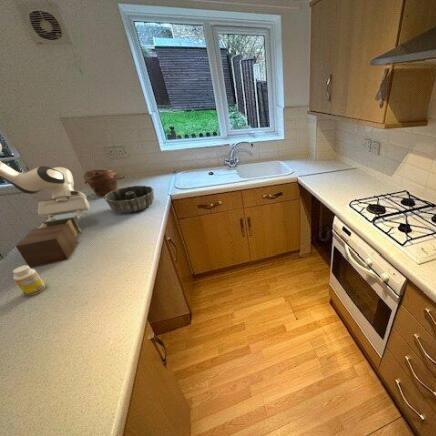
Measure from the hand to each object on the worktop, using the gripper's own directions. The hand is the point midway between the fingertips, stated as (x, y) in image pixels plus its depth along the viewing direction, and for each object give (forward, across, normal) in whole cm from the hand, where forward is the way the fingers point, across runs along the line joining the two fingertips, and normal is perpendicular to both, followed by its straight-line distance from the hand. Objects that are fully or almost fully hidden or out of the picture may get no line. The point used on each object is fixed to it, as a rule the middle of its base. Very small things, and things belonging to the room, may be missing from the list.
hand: (65, 220), depth 123 cm
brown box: (+20, 0, -11) cm, 23 cm away
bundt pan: (-10, +27, +20) cm, 35 cm away
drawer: (+10, 0, -2) cm, 11 cm away
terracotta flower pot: (-36, +6, +45) cm, 58 cm away
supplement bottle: (+38, +2, -29) cm, 48 cm away
